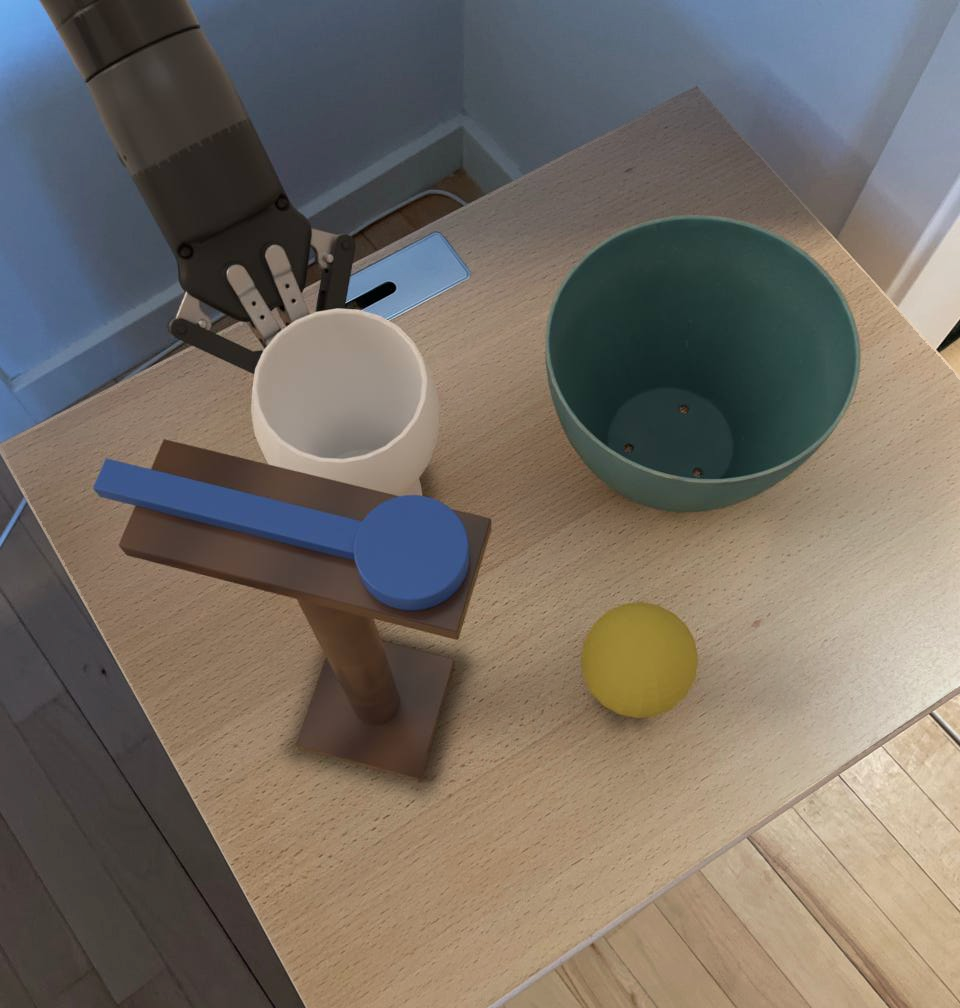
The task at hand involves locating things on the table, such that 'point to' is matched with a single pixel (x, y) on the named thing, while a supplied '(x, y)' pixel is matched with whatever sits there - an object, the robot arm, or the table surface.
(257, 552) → the spoon stand
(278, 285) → the robot arm
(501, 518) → the table surface
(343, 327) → the cup
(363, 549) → the spoon
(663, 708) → the yellow ball
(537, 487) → the table surface
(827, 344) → the plant pot
